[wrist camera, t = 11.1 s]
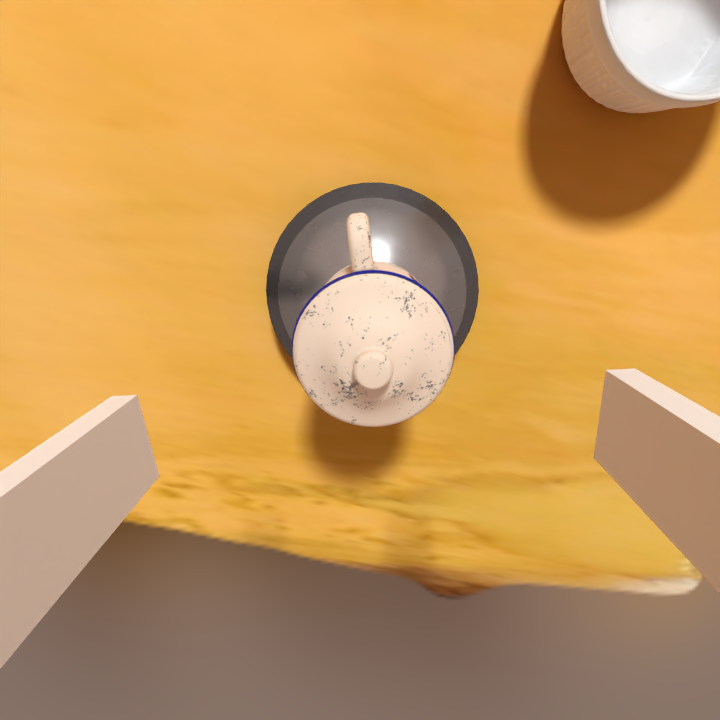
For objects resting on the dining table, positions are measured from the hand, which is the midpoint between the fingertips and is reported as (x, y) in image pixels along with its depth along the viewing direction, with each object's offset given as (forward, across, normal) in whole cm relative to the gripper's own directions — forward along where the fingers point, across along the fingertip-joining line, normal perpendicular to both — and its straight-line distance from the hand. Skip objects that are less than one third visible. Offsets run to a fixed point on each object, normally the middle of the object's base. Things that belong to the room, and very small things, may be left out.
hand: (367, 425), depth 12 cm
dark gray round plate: (+23, 0, 0) cm, 23 cm away
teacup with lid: (+20, 0, 0) cm, 20 cm away
